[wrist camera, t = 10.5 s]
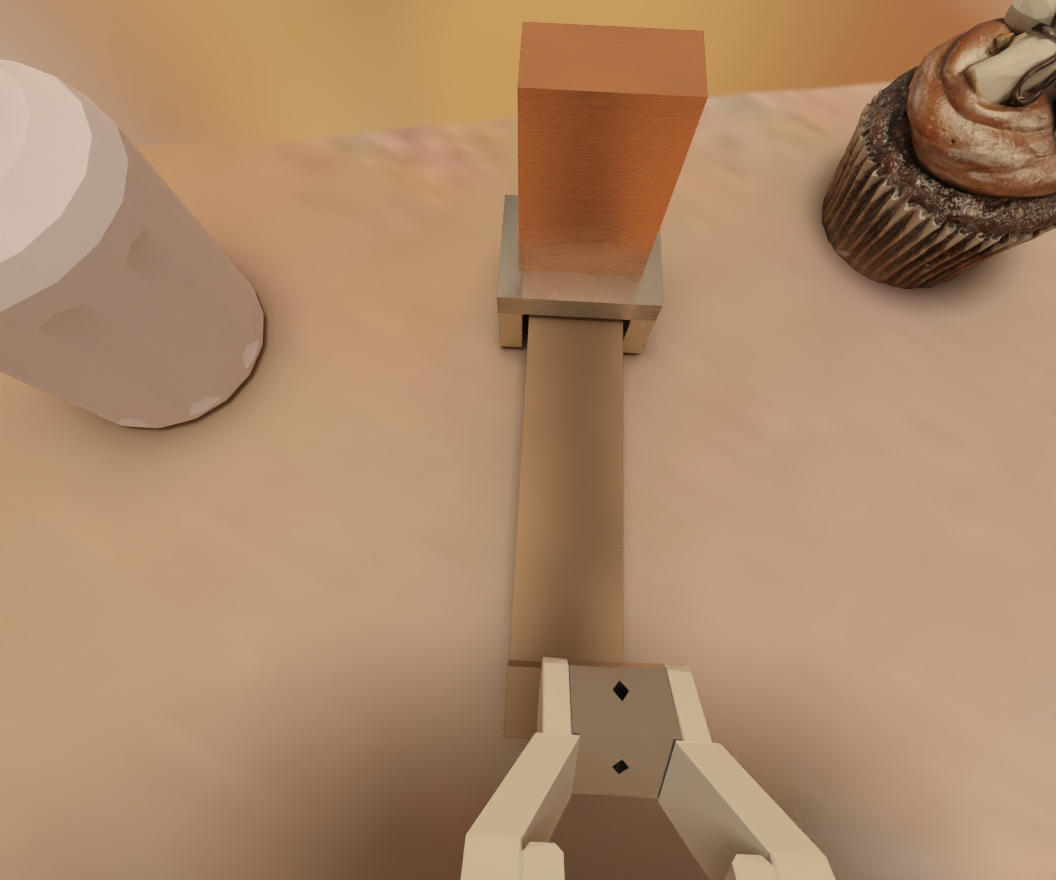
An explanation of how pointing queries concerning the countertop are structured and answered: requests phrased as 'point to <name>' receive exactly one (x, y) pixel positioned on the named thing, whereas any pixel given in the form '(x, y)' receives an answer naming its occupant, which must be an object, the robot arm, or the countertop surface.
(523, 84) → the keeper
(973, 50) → the cupcake
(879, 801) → the countertop surface
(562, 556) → the rail
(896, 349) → the countertop surface
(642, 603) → the countertop surface
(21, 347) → the soap bottle
